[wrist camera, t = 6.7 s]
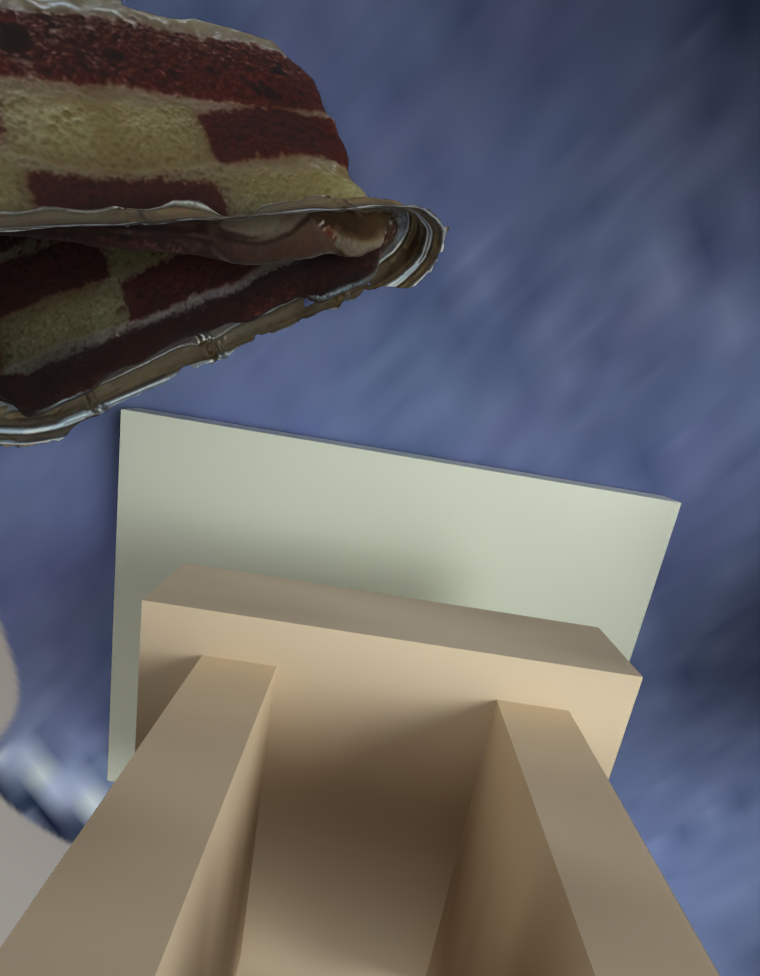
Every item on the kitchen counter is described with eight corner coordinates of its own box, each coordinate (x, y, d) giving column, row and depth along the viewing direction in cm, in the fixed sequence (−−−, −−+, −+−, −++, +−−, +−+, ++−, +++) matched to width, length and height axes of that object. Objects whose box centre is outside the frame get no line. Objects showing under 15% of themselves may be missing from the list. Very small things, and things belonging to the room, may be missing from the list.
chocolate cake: (368, -48, 10) (-1622, -1622, 2) (484, 231, 9) (-1778, -463, 1) (227, 250, 17) (-323, 165, 9) (287, 418, 16) (-251, 481, 9)
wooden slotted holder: (505, 933, 10) (700, 1822, 4) (162, 886, 10) (-218, 1737, 4) (599, 627, 8) (1231, 1337, 2) (184, 562, 8) (-468, 1127, 2)
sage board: (662, 495, 12) (681, 503, 11) (558, 822, 14) (568, 848, 13) (138, 407, 11) (120, 409, 11) (122, 758, 14) (107, 781, 13)
